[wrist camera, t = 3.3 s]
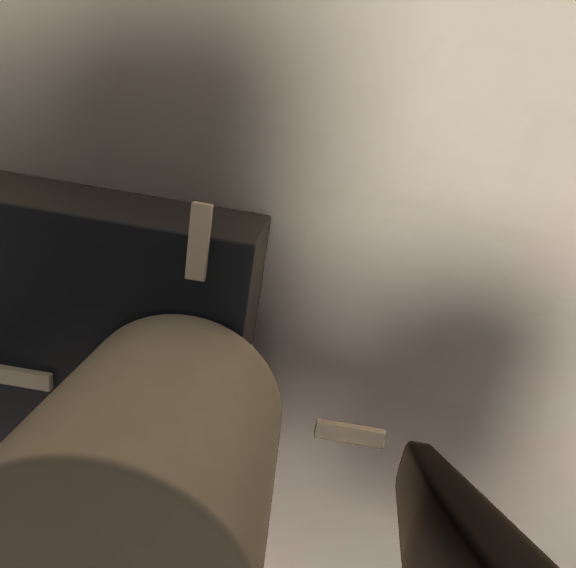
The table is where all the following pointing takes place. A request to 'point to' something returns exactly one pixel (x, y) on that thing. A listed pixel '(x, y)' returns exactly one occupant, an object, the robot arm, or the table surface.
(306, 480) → the table surface
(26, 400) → the control panel
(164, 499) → the dial
